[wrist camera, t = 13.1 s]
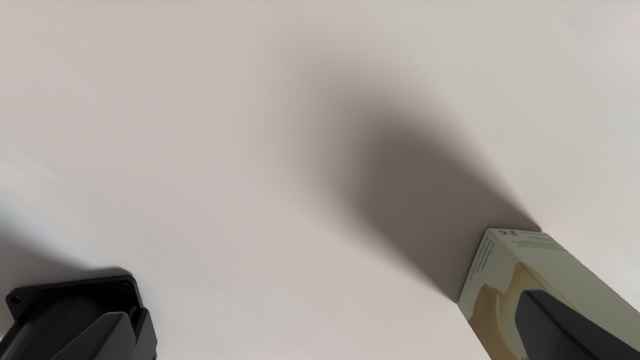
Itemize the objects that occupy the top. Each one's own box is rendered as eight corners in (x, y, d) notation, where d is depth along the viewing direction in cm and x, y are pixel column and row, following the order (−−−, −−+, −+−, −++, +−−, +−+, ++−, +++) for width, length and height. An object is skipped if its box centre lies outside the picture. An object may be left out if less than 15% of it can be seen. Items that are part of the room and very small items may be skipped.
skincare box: (484, 224, 25) (667, 406, 14) (547, 230, 26) (766, 406, 15) (453, 309, 27) (587, 522, 16) (511, 312, 28) (677, 516, 17)
